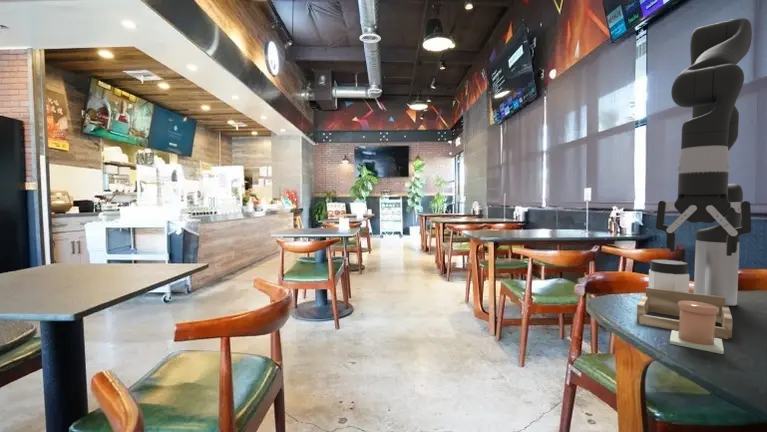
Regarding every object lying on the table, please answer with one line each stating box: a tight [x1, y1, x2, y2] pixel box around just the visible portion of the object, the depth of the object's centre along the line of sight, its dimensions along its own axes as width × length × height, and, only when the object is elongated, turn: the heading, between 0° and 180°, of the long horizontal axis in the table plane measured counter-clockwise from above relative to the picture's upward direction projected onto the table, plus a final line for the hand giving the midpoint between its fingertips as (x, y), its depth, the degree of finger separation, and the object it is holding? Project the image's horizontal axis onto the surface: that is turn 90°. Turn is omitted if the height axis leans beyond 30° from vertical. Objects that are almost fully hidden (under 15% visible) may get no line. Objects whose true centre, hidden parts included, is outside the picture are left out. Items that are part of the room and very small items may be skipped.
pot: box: [678, 301, 719, 345], centre depth 75 cm, size 6×6×7 cm
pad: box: [669, 329, 725, 355], centre depth 75 cm, size 8×8×1 cm
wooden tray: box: [636, 286, 733, 340], centre depth 88 cm, size 14×16×6 cm
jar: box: [648, 259, 690, 293], centre depth 102 cm, size 9×8×12 cm
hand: (699, 253), depth 75 cm, fingers open, 8 cm apart
